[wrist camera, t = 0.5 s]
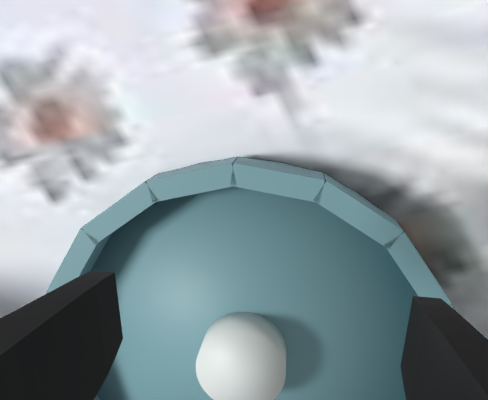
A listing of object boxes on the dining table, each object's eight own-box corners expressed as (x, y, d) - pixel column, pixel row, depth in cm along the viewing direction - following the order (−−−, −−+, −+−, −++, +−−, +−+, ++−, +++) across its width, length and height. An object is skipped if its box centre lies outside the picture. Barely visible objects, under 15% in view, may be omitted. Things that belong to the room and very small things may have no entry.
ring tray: (296, 545, 26) (296, 590, 24) (14, 374, 25) (-14, 402, 23) (530, 304, 21) (559, 332, 18) (178, 76, 20) (162, 74, 18)
